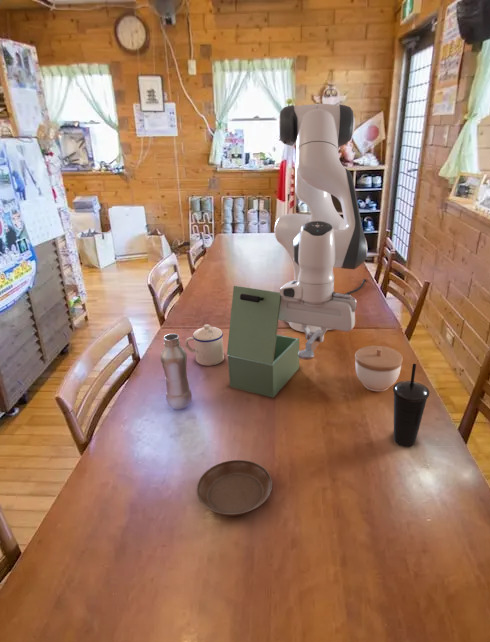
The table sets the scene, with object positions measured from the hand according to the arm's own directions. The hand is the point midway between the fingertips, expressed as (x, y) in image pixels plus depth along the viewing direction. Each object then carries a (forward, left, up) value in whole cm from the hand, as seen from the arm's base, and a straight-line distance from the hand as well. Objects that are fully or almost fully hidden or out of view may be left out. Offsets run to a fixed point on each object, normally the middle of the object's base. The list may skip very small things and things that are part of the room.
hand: (314, 340), depth 118 cm
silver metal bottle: (+21, -29, -15) cm, 39 cm away
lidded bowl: (-10, +15, -15) cm, 24 cm away
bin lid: (+5, -15, +4) cm, 16 cm away
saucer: (+42, 0, -15) cm, 45 cm away
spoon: (+2, 0, -2) cm, 3 cm away
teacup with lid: (-3, -37, -15) cm, 40 cm away
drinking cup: (+11, +27, -15) cm, 33 cm away
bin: (-1, -15, -15) cm, 21 cm away
